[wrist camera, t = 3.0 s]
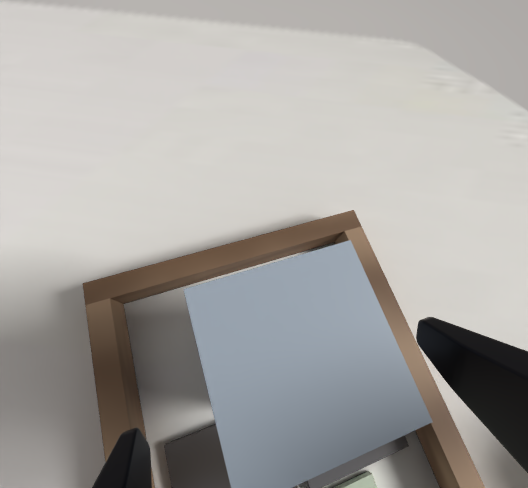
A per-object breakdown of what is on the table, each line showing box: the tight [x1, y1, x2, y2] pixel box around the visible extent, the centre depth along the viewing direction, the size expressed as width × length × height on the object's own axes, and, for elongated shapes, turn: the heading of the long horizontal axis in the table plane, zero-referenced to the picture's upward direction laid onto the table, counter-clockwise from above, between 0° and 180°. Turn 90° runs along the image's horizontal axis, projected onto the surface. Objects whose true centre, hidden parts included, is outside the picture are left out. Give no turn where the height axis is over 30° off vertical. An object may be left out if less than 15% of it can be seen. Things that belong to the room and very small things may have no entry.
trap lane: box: [83, 210, 485, 488], centre depth 14 cm, size 26×16×2 cm, turn 18°
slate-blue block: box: [184, 240, 433, 488], centre depth 12 cm, size 4×4×11 cm
